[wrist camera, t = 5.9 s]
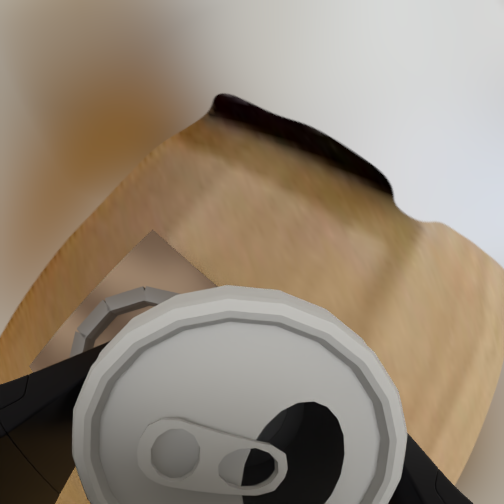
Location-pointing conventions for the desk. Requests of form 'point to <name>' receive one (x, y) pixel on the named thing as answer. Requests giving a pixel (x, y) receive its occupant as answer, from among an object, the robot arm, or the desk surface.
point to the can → (238, 407)
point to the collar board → (124, 279)
